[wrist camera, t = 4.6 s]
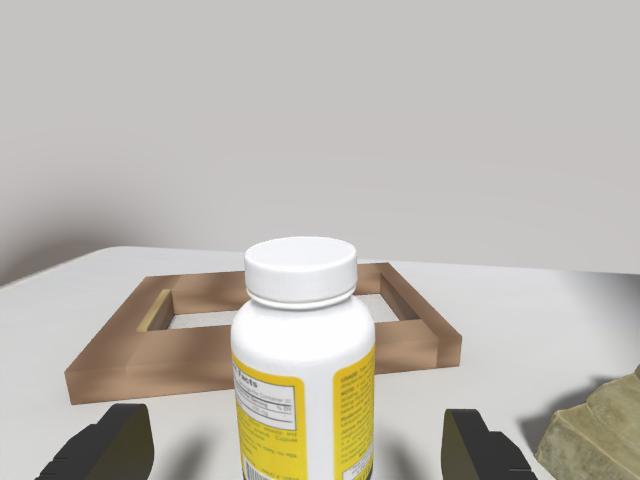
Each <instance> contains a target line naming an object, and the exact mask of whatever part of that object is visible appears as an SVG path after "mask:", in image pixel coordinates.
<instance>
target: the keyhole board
mask: <svg viewBox="0 0 640 480" xmlns="http://www.w3.org/2000/svg"><path fill="white" fill-rule="evenodd" d="M357 277H358V279H357V282H356V288H355V291H354V292H353V294H352V295H363V294H377V293H380V294H381V295H382V297H383V298H384V299H385V301H386V302H387V303H388V305H389V306H390V307H391V309H392V310H393V311H394V313H395V314H396V315H397V317H398V318H399V319H400V321H394V322H381V323H374V324H375V368H374V374H383V373H393V372H403V371H413V370H423V369H433V368H443V367H453V366H459V363H460V353H461V343H462V336H461V335H460V334H459V333H458V332H457V331H456V330H455V329H454V328H453V327H452V326H451V325H450V324H449V323H448V322H447V321H446V320H445V319H444V318H443V317H442V316H441V315H440V314H439V313H438V312H437V311H436V310H435V309H434V308H433V307H432V306H431V305H430V304H429V303H428V302H427V301H426V300H425V299H424V298H423V297H422V296H421V295H420V294H419V293H418V292H417V291H416V290H415V289H414V288H413V287H412V286H411V285H410V284H409V283H408V282H407V281H406V280H405V279H404V278H403V277H402V276H401V275H400V274H399V273H398V272H397V271H396V270H395V269H394V268H393V267H392V266H391V265H390V264H389V263H371V264H357ZM250 299H252V298H251V297H250V296H249V295H248V294H247V286H246V282H245V271H236V272H219V273H202V274H185V275H168V276H151V277H145V278H144V280H143V281H142V282H141V283H140V284H139V285H138V287H137V288H136V289H135V290H134V291H133V292H132V294H131V295H130V296H129V297H128V298H127V299H126V301H125V302H124V303H123V304H122V305H121V306H120V308H119V309H118V310H117V311H116V312H115V313H114V315H113V316H112V317H111V318H110V319H109V320H108V322H107V323H106V324H105V325H104V326H103V327H102V329H101V330H100V331H99V332H98V333H97V334H96V336H95V337H94V338H93V339H92V340H91V341H90V343H89V344H88V345H87V346H86V347H85V348H84V350H83V351H82V352H81V353H80V354H79V355H78V357H77V358H76V359H75V360H74V361H73V362H72V364H71V365H70V366H69V367H68V368H67V369H66V371H65V372H64V373H65V378H66V382H67V387H68V391H69V396H70V401H71V405H75V404H85V403H95V402H105V401H115V400H124V399H134V398H144V397H154V396H164V395H174V394H184V393H194V392H204V391H214V390H224V389H234V388H235V385H234V374H233V363H232V352H231V325H222V326H209V327H196V328H183V329H170V330H167V328H168V326H169V324H170V322H171V320H172V318H173V316H174V314H188V313H202V312H215V311H229V310H239V309H240V308H241V307H242V306H243V305H244V304H245V303H246V302H248V301H249V300H250Z"/></svg>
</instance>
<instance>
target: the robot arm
mask: <svg viewBox="0 0 640 480" xmlns="http://www.w3.org/2000/svg"><path fill="white" fill-rule="evenodd" d="M153 461H154V444H153V438H152V432H151V426H150V420H149V414H148V409H147V406H146V405H145V404H119V403H117V404H114V405H112V406H111V407H110V408H109V410H108V411H107V412H106V413H105V414H104V416H103V417H102V418H101V419H100V421H99V422H98V423H97V424H90V425H89V426H87V427H86V428H85V429H83V430H82V431H80V432H79V433H78V434H76V435H75V436H73V437H72V438H71V439H69V440H68V442H67V443H66V444H65V445H64V446H63V447H62V449H61V450H60V451H59V452H58V453H57V454H56V455H55V457H54V458H53V461H50V462H49V463H48V465H47V466H46V467H45V468H44V469H43V470H42V471H41V473H40V476H39V477H36V478H35V480H147V479H148V477H149V475H150V472H151V469H152V466H153ZM441 469H442V475H443V480H538V479H537V477H536V476H535V474H534V472H532V471H531V467H530V465H529V464H528V462H527V460H526V459H525V457H524V455H523V454H522V452H521V450H520V449H519V448H518V447H517V446H516V445H515V444H514V443H513V442H512V441H511V440H510V439H509V438H507V437H506V436H505V435H504V434H503V433H502V432H495V431H489V430H488V428H487V426H486V425H485V423H484V421H483V419H482V417H481V415H480V413H479V412H478V411H477V410H476V409H446V411H445V415H444V426H443V437H442V448H441Z"/></svg>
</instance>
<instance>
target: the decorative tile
mask: <svg viewBox="0 0 640 480" xmlns="http://www.w3.org/2000/svg"><path fill="white" fill-rule="evenodd" d="M534 457H535V458H536V460H537V461H538V462H539V463H540V464H541V465H542V466H543V467H544V468H545V469H546V470H547V471H548V472H549V473H550V474H551V475H552V476H553V477H554V478H555V479H556V480H640V364H639V366H638V367H637V369H636V370H635V372H634V373H632V374H631V375H627V376H624V377H622V378H621V379H617V380H613V381H611V382H608V383H604V384H602V385H601V386H599V387H598V388H597V389H596V390H595V391H593V392H592V393H591V394H590V395H589V397H588V398H587V400H586V402H585V403H584V404H581V405H578V406H575V407H572V408H569V409H564V410H557V411H556V412H554V413H553V415H552V418H551V420H550V423H549V425H548V427H547V429H546V431H545V433H544V435H543V437H542V439H541V442H540V444H539V446H538V450H537V452H536V453H535V454H534Z"/></svg>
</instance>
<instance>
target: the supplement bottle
mask: <svg viewBox="0 0 640 480" xmlns="http://www.w3.org/2000/svg"><path fill="white" fill-rule="evenodd" d="M244 262H245V282H246V286H247V294H248V295H249V296H250V297H251V298H252V299H250V300H249V301H248V302H246V303H245V304H244V305H243V306H242V307H241V308H240V309H239V311H238V312H237V314H236V315H235V317H234V319H233V322H232V325H231V352H232V363H233V374H234V385H235V396H236V408H237V418H238V429H239V439H240V450H241V462H242V471H243V478H244V480H371V479H372V471H373V417H374V368H375V324H374V319H373V317H372V314H371V312H370V311H369V309H368V308H367V307H366V305H365V304H364V303H363V302H361V301H360V300H359V299H358V298H356V297H355V296H354V295H352V294H353V292H354V291H355V288H356V282H357V279H358V277H357V252H356V249H355V247H354V246H353V245H351V244H349V243H347V242H345V241H341V240H338V239H332V238H326V237H307V236H304V237H287V238H280V239H273V240H269V241H265V242H261V243H258V244H256V245H254V246H252V247H251V248H249V249H248V250H247V251H246V252H245V255H244Z"/></svg>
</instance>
